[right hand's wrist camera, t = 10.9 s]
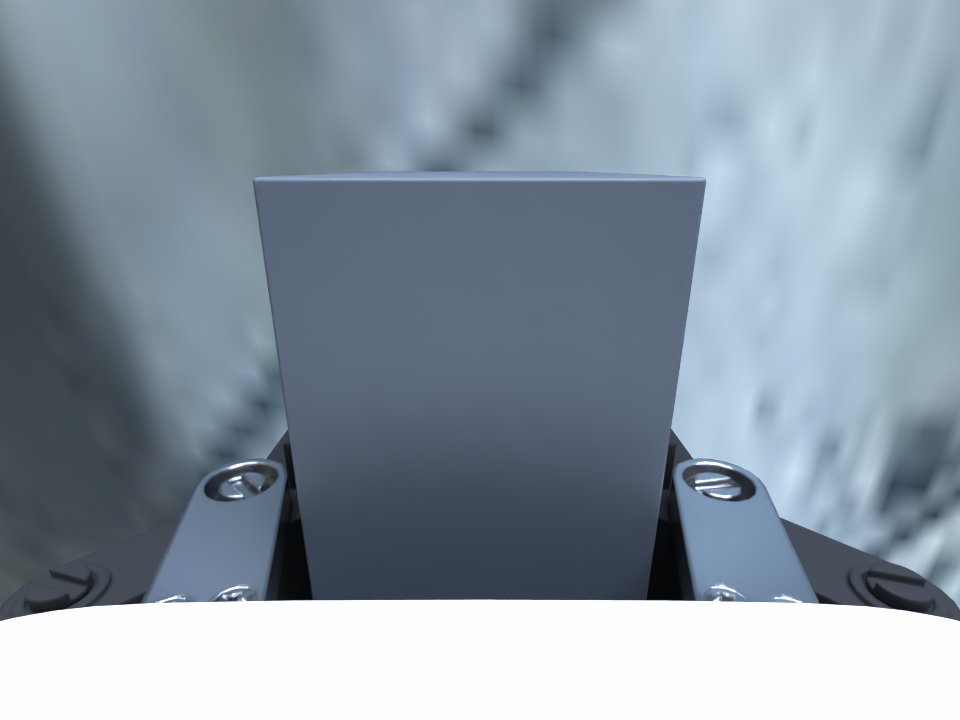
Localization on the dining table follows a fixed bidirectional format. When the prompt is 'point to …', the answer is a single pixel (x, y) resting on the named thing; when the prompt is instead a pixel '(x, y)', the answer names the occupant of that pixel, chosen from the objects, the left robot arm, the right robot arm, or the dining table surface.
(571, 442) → the bar
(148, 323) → the dining table surface
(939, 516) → the dining table surface
